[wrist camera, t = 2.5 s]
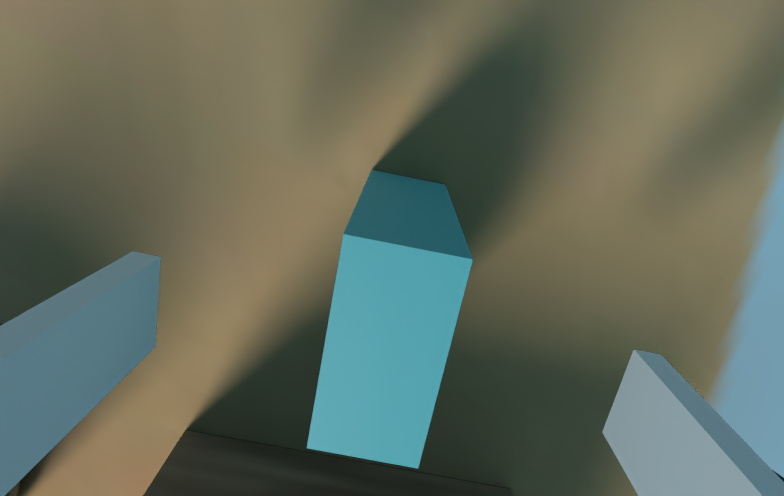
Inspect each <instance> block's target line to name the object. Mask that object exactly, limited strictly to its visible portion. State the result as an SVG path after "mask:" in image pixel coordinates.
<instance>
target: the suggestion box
mask: <svg viewBox="0 0 784 496" xmlns="http://www.w3.org/2000/svg"><path fill="white" fill-rule="evenodd" d="M143 496H513V494H512V490H511V489H507V488H502V487H496V486H491V485H485V484H480V483H474V482H469V481H463V480H458V479H452V478H447V477H441V476H436V475H430V474H425V473H419V472H414V471H408V470H403V469H397V468H392V467H386V466H381V465H375V464H370V463H364V462H359V461H353V460H347V459H342V458H336V457H331V456H325V455H320V454H314V453H309V452H303V451H298V450H292V449H287V448H281V447H276V446H270V445H265V444H259V443H254V442H248V441H243V440H237V439H232V438H226V437H221V436H215V435H210V434H204V433H199V432H193V431H188V430H185V432H184V433H183V435H182V436H181V438H180V439H179V441H178V442H177V444H176V446H175V447H174V449H173V450H172V452H171V453H170V455H169V456H168V458H167V460H166V461H165V463H164V464H163V466H162V467H161V469H160V470H159V472H158V473H157V475H156V477H155V478H154V480H153V481H152V483H151V484H150V486H149V487H148V489H147V491H146V492H145V494H144V495H143Z"/></svg>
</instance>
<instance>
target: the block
mask: <svg viewBox="0 0 784 496" xmlns="http://www.w3.org/2000/svg"><path fill="white" fill-rule="evenodd" d="M472 261H473V258H472V256H471V253H470V250H469V247H468V245H467V242H466V239H465V237H464V234H463V231H462V228H461V226H460V223H459V220H458V218H457V215H456V212H455V209H454V207H453V204H452V201H451V198H450V196H449V193H448V190H447V188H446V185H444V184H439V183H434V182H430V181H425V180H420V179H415V178H410V177H405V176H400V175H395V174H390V173H385V172H380V171H375V170H371V172H370V174H369V177H368V179H367V181H366V184H365V186H364V188H363V191H362V193H361V195H360V197H359V200H358V202H357V204H356V207H355V209H354V211H353V213H352V216H351V218H350V220H349V223H348V225H347V227H346V229H345V232H344V234H343V240H342V246H341V252H340V257H339V263H338V269H337V275H336V281H335V286H334V292H333V298H332V304H331V310H330V315H329V321H328V327H327V333H326V339H325V344H324V350H323V356H322V362H321V368H320V373H319V379H318V385H317V391H316V397H315V402H314V408H313V414H312V420H311V426H310V431H309V437H308V443H307V448H308V449H314V450H319V451H324V452H330V453H335V454H341V455H346V456H352V457H357V458H363V459H368V460H374V461H379V462H385V463H390V464H396V465H401V466H407V467H412V468H417V469H418V467H419V464H420V460H421V456H422V452H423V448H424V444H425V441H426V437H427V433H428V429H429V425H430V422H431V418H432V414H433V410H434V406H435V402H436V399H437V395H438V391H439V387H440V383H441V380H442V376H443V372H444V368H445V364H446V360H447V357H448V353H449V349H450V345H451V341H452V337H453V334H454V330H455V326H456V322H457V318H458V315H459V311H460V307H461V303H462V299H463V295H464V292H465V288H466V284H467V280H468V276H469V272H470V269H471V265H472Z"/></svg>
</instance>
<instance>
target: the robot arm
mask: <svg viewBox="0 0 784 496" xmlns="http://www.w3.org/2000/svg"><path fill="white" fill-rule="evenodd" d="M160 263H161V257H159V256H154V255H149V254H144V253H139V252H134V251H132V252H130V253H129V254H127V255H125V256H123V257H122V258H120V259H118V260H116V261H114V262H113V263H111V264H109V265H107V266H106V267H104V268H102V269H100V270H99V271H97V272H95V273H93V274H91V275H90V276H88V277H86V278H84V279H83V280H81V281H79V282H77V283H75V284H74V285H72V286H70V287H68V288H67V289H65V290H63V291H61V292H59V293H58V294H56V295H54V296H52V297H51V298H49V299H47V300H45V301H43V302H42V303H40V304H38V305H36V306H35V307H33V308H31V309H29V310H27V311H26V312H24V313H22V314H20V315H19V316H17V317H15V318H13V319H12V320H10V321H8V322H6V323H4V324H0V496H5V495H6V494H7V493H8V492H9V491H10V490H11V489H12V488H13V487H14V486H15V485H16V484H17V483H18V482H19V481H20V480H21V479H22V478H23V477H24V476H25V475H26V474H27V473H28V472H29V471H30V470H31V469H32V468H33V467H34V466H35V465H36V464H37V463H38V462H39V461H40V460H41V459H42V458H43V457H44V456H45V455H46V454H47V453H48V452H49V451H50V450H51V449H52V448H53V447H54V446H56V445H57V444H58V443H59V442H60V441H61V440H62V439H63V438H64V437H65V436H66V435H67V434H68V433H69V432H70V431H71V430H72V429H73V428H74V427H75V426H76V425H77V424H78V423H79V422H80V421H81V420H82V419H83V418H84V417H85V416H86V415H87V414H88V413H89V412H90V411H91V410H92V409H93V408H94V407H95V406H96V405H97V404H98V403H99V402H100V401H101V400H102V399H103V398H104V397H105V396H106V395H107V394H108V393H109V392H110V391H111V390H112V389H113V388H114V387H115V386H116V385H117V384H118V383H119V382H120V381H121V380H122V379H123V378H124V377H125V376H126V375H127V374H128V373H129V372H130V371H131V370H132V369H133V368H134V367H135V366H136V365H137V364H138V363H140V362H141V361H142V360H143V359H144V358H145V357H146V356H147V355H148V354H149V353H150V352H151V351H152V350H153V349H154V348H155V344H156V328H157V311H158V295H159V279H160ZM602 433H603V435H604V436H605V438H606V440H607V442H608V443H609V445H610V447H611V449H612V450H613V452H614V454H615V456H616V457H617V459H618V461H619V463H620V464H621V466H622V468H623V470H624V471H625V473H626V475H627V477H628V479H629V480H630V482H631V484H632V486H633V487H634V489H635V491H636V493H637V494H638V496H784V478H783V477H781V476H780V475H779V474H777V473H776V472H775V471H773V470H772V469H771V468H770V467H769V466H768V465H767V464H766V463H765V462H764V461H763V460H762V459H761V458H760V457H759V456H758V455H757V454H756V453H755V452H754V451H753V450H752V449H751V448H750V447H749V445H748V444H747V443H746V442H745V441H744V440H743V439H742V438H741V437H740V436H739V435H738V434H737V433H736V432H735V431H734V430H733V429H732V428H731V427H730V426H729V425H728V424H727V423H726V422H725V421H724V420H723V419H722V417H721V416H720V415H719V414H718V413H717V412H716V411H715V410H714V409H713V408H712V407H711V406H710V405H709V404H708V403H707V402H706V401H705V400H704V399H703V398H702V397H701V396H700V395H699V394H698V393H697V392H696V391H695V390H694V388H693V387H692V386H691V385H690V384H689V383H688V382H687V381H686V380H685V379H684V378H683V377H682V376H681V375H680V374H679V373H678V372H677V371H676V370H675V369H674V368H673V367H672V366H671V365H670V364H669V363H668V362H667V360H666V359H665V358H664V357H663V356H662V355H661V354H656V353H651V352H645V351H640V350H635V349H634V350H633V353H632V355H631V358H630V360H629V363H628V366H627V368H626V371H625V374H624V376H623V379H622V382H621V384H620V387H619V389H618V392H617V395H616V397H615V400H614V403H613V405H612V408H611V410H610V413H609V416H608V418H607V421H606V424H605V426H604V429H603V431H602Z"/></svg>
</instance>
